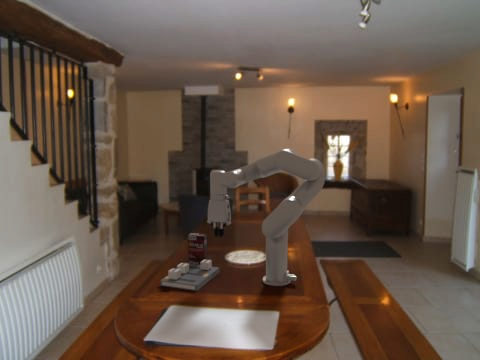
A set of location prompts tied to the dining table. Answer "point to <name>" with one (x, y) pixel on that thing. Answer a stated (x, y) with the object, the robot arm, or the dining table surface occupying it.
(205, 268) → the switch
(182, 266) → the switch
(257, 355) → the dining table surface
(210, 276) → the switch unit
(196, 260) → the supplement box
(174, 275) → the switch
